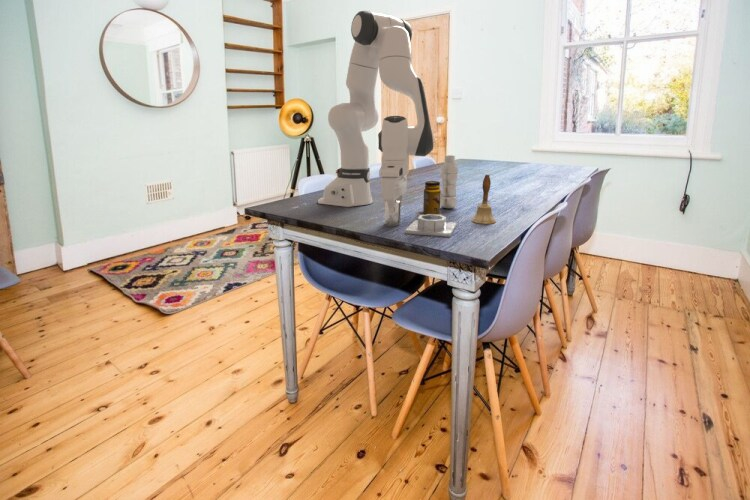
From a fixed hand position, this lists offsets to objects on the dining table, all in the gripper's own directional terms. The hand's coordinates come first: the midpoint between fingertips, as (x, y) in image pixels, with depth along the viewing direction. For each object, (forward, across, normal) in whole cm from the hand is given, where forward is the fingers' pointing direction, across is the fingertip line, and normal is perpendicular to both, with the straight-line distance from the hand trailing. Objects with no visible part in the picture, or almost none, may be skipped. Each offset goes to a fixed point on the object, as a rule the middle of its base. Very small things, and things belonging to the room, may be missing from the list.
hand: (395, 210), depth 152 cm
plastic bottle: (+5, -30, +14) cm, 33 cm away
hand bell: (+6, -12, +28) cm, 31 cm away
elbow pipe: (+5, 0, -1) cm, 5 cm away
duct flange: (+5, +4, +13) cm, 14 cm away
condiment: (+5, -18, +8) cm, 20 cm away
